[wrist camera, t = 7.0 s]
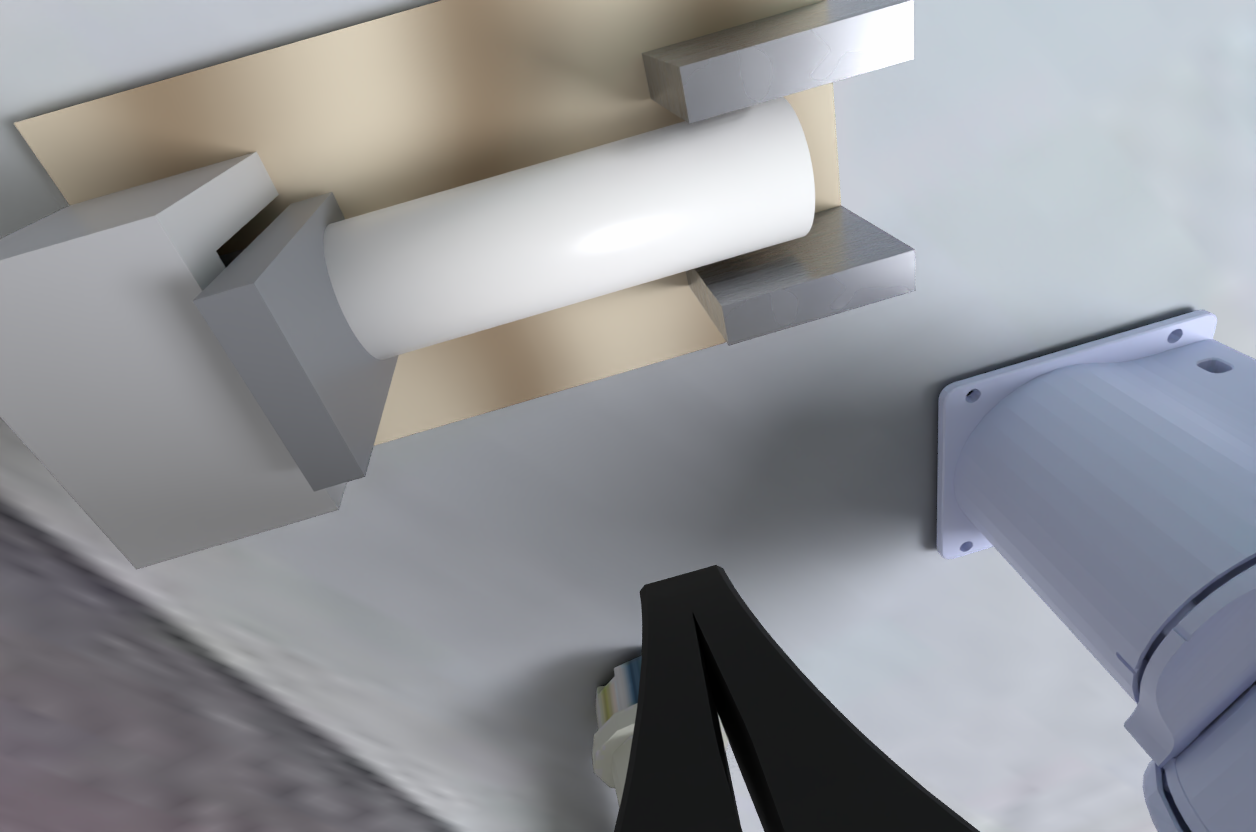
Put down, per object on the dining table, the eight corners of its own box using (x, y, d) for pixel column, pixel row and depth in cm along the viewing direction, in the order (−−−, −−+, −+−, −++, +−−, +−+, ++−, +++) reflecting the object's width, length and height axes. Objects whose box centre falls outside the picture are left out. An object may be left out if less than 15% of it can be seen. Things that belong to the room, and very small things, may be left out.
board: (810, -105, 15) (819, -108, 15) (840, 300, 21) (847, 306, 20) (26, 119, 15) (13, 122, 15) (262, 470, 20) (258, 480, 20)
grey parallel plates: (827, -1, 16) (913, -1, 13) (843, 240, 19) (915, 290, 16) (641, 53, 16) (679, 67, 13) (688, 286, 19) (728, 345, 16)
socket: (256, 151, 16) (155, 215, 11) (377, 385, 19) (338, 510, 14) (69, 205, 16) (-112, 292, 11) (224, 430, 19) (136, 569, 14)
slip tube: (753, 68, 16) (876, 101, 11) (773, 230, 18) (885, 323, 13) (181, 234, 16) (26, 348, 11) (269, 377, 18) (175, 532, 13)
